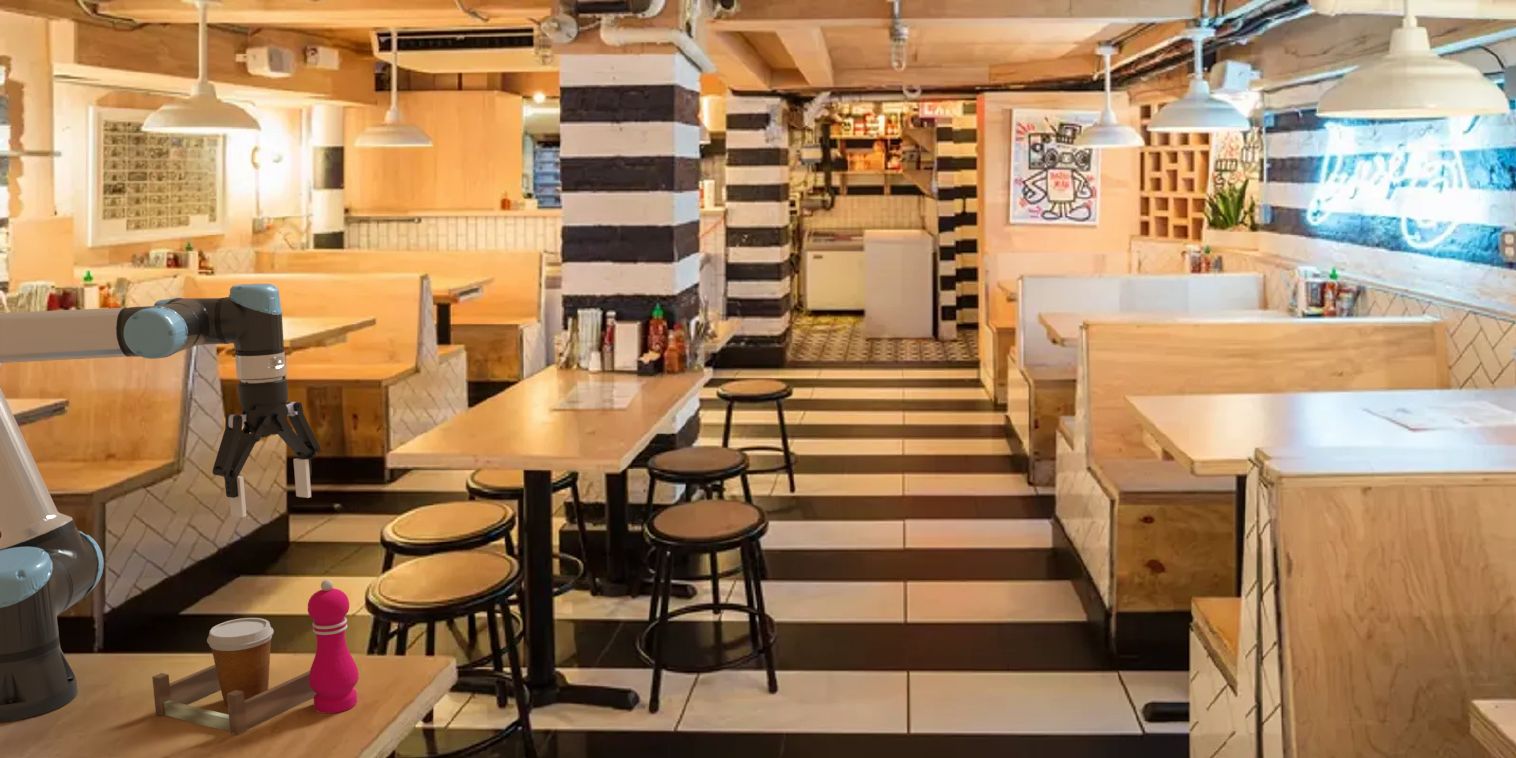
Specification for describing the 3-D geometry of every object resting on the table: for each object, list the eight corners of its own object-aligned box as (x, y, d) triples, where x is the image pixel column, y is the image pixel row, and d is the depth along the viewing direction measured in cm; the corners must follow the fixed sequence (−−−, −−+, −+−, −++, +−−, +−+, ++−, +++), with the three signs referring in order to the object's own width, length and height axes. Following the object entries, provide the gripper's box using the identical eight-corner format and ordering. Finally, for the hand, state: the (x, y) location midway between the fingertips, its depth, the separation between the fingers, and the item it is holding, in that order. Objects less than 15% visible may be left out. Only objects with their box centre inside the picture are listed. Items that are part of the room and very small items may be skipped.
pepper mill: (337, 692, 198) (328, 570, 195) (370, 701, 195) (361, 576, 192) (300, 709, 192) (290, 583, 189) (334, 718, 189) (324, 590, 185)
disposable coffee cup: (255, 715, 190) (249, 639, 188) (199, 711, 192) (192, 636, 190) (291, 691, 199) (285, 618, 197) (237, 687, 201) (230, 615, 199)
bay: (155, 714, 191) (152, 676, 190) (262, 667, 209) (259, 633, 208) (238, 735, 183) (234, 695, 182) (341, 684, 201) (338, 648, 200)
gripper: (214, 392, 192) (226, 527, 196) (336, 369, 214) (344, 491, 218) (180, 389, 196) (192, 522, 199) (303, 367, 218) (312, 487, 221)
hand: (272, 506), depth 208 cm, fingers open, 13 cm apart
